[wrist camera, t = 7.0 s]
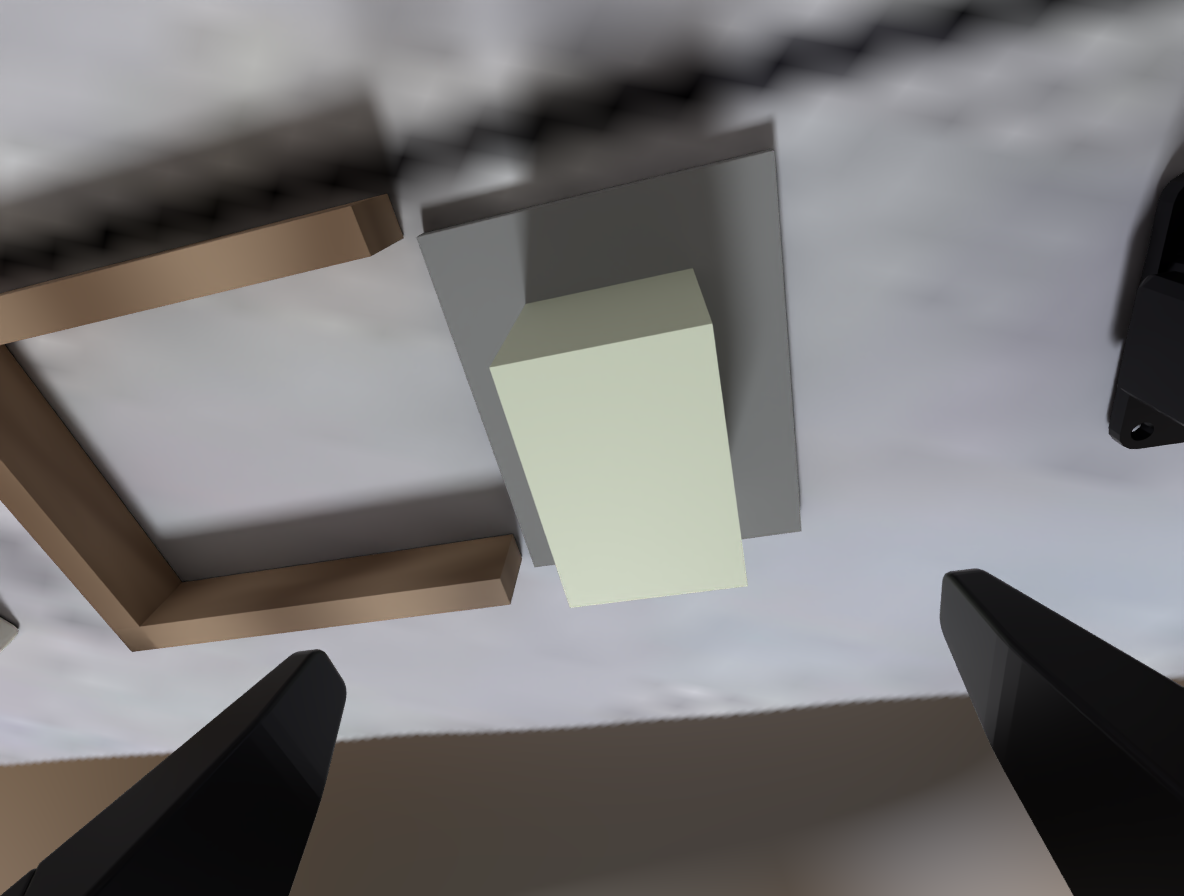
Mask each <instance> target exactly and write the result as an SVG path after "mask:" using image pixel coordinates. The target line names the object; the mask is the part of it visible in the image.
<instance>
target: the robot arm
mask: <svg viewBox="0 0 1184 896" xmlns="http://www.w3.org/2000/svg"><path fill="white" fill-rule="evenodd" d="M1117 384H1118V387H1117V392H1116V396H1115V401H1114V405H1113V410H1112V415H1111V419H1110V424H1109V435H1110V436H1111V437H1112V439H1114V440H1115V441H1117V442H1118V443H1119V444H1121V445H1122V446H1124V447H1126V448H1129V449H1141V448H1148V447H1155V446H1162V445H1169V444H1176V443H1183V442H1184V173H1182V174H1180V175H1179V176H1177V177H1176V178H1174V179H1173V180H1172V181H1170V183H1169V184H1168V185H1167V186H1166V188H1165V189H1164V190H1163V192H1162V194H1161V196H1160V199H1159V202H1158V206H1157V211H1156V215H1155V220H1154V224H1153V229H1152V233H1151V238H1150V242H1149V247H1148V251H1147V256H1146V260H1145V265H1144V270H1143V274H1142V279H1141V283H1140V286H1139V288H1138V290H1137V295H1136V299H1135V304H1134V308H1133V313H1132V317H1131V322H1130V326H1129V331H1128V336H1127V340H1126V345H1125V349H1124V354H1123V358H1122V363H1121V367H1120V372H1119V377H1118V381H1117ZM1139 424H1141V426H1140V427H1139V428H1138V429H1137V430H1135V431H1133V432H1132V430H1133V429H1134V428H1135V427H1136V426H1137V425H1139ZM940 624H941V629H942V632H943V635H944V637H945V640H946V642H947V645H948V647H949V649H950V652H951V654H952V656H953V659H954V661H955V663H956V666H957V668H958V670H959V673H960V675H961V677H962V680H963V682H964V684H965V687H966V689H967V692H968V694H969V696H970V699H971V701H972V703H973V706H974V708H975V710H976V713H977V715H978V717H979V720H980V722H981V724H982V727H983V729H984V731H985V734H986V736H987V738H988V740H989V742H990V745H991V747H992V749H993V751H994V752H995V755H996V757H997V759H998V760H999V762H1000V764H1001V766H1002V768H1003V770H1004V772H1005V773H1006V775H1007V777H1008V779H1009V781H1010V782H1011V784H1012V786H1013V788H1014V790H1015V791H1016V793H1017V795H1018V797H1019V799H1020V800H1021V802H1022V804H1023V806H1024V808H1025V809H1026V811H1027V813H1028V815H1029V816H1030V818H1031V820H1032V822H1033V824H1034V826H1035V827H1036V829H1037V831H1038V833H1039V834H1040V836H1041V838H1042V840H1043V841H1044V843H1045V845H1046V847H1047V849H1048V850H1049V852H1050V854H1051V856H1052V858H1053V860H1054V861H1055V863H1056V865H1057V867H1058V869H1059V870H1060V872H1061V874H1062V876H1063V878H1064V879H1065V881H1066V883H1067V885H1068V887H1069V888H1070V890H1071V892H1072V894H1073V896H1184V687H1182V686H1181V685H1179V684H1177V683H1176V682H1174V681H1172V680H1170V679H1169V678H1167V677H1165V676H1164V675H1162V674H1160V673H1158V672H1157V671H1155V670H1153V669H1152V668H1150V667H1148V666H1147V665H1145V664H1143V663H1141V662H1140V661H1138V660H1136V659H1135V658H1133V657H1131V656H1129V655H1128V654H1126V653H1124V652H1123V651H1121V650H1119V649H1117V648H1116V647H1114V646H1112V645H1111V644H1109V643H1107V642H1106V641H1104V640H1102V639H1100V638H1099V637H1097V636H1095V635H1094V634H1092V633H1090V632H1088V631H1087V630H1085V629H1083V628H1082V627H1080V626H1078V625H1076V624H1075V623H1073V622H1071V621H1070V620H1068V619H1066V618H1065V617H1063V616H1061V615H1059V614H1058V613H1056V612H1054V611H1053V610H1051V609H1049V608H1047V607H1046V606H1044V605H1042V604H1041V603H1039V602H1037V601H1035V600H1034V599H1032V598H1030V597H1029V596H1027V595H1025V594H1024V593H1022V592H1020V591H1018V590H1017V589H1015V588H1013V587H1012V586H1010V585H1008V584H1006V583H1005V582H1003V581H1001V580H1000V579H998V578H996V577H994V576H993V575H991V574H989V573H988V572H986V571H984V570H981V569H966V570H958V571H950V572H948V573H946V574H945V575H944V577H943V581H942V592H941V605H940ZM345 702H346V686H345V683H344V681H343V679H342V678H341V676H340V674H339V673H338V671H337V670H336V668H335V667H334V665H333V663H332V662H331V660H330V659H329V657H328V656H327V654H326V653H325V652H323V651H322V650H318V649H315V650H307V651H299V652H296V653H294V654H292V655H290V656H289V657H288V658H287V659H285V660H284V661H283V662H282V663H281V664H279V665H278V666H277V667H276V668H275V669H273V670H272V671H271V672H270V673H269V674H267V675H266V676H265V677H264V678H263V679H261V680H260V681H259V682H258V683H257V684H255V685H254V686H253V687H252V688H250V689H249V690H248V691H247V692H246V693H244V694H243V695H242V696H241V697H240V698H238V699H237V700H236V701H235V702H234V703H232V704H231V705H230V706H229V707H228V708H226V709H225V710H224V711H223V712H222V713H220V714H219V715H218V716H217V717H215V718H214V719H213V720H212V721H211V722H209V723H208V724H207V725H206V726H205V727H203V728H202V729H201V730H200V731H199V732H197V733H196V734H195V735H194V736H193V737H191V738H190V739H189V740H188V741H187V742H185V743H184V744H183V745H182V746H180V747H179V748H178V749H177V750H176V751H174V752H173V753H172V754H171V755H170V756H168V757H167V758H166V759H165V760H164V761H162V762H161V763H160V764H159V765H158V766H156V767H155V768H154V769H153V770H152V771H150V772H149V773H148V774H147V775H145V776H144V777H143V778H142V779H141V780H139V781H138V782H137V783H136V784H135V785H133V786H132V787H131V788H130V789H129V790H127V791H126V792H125V793H124V794H123V795H121V796H120V797H119V798H118V799H117V800H115V801H114V802H113V803H112V804H111V805H110V806H108V807H107V808H106V809H104V810H103V811H102V812H101V813H100V814H98V815H97V816H96V817H95V818H94V819H93V820H91V821H90V822H89V823H88V824H86V825H85V826H84V827H83V828H82V829H80V830H79V831H78V832H77V833H75V834H74V835H73V836H72V837H71V838H69V839H68V840H67V841H66V842H65V843H63V844H62V845H61V846H60V847H59V848H58V849H56V850H55V851H54V852H53V853H51V854H50V855H49V856H48V857H46V858H45V859H44V860H43V861H42V862H41V863H40V864H39V865H38V867H37V869H33V870H31V871H29V872H28V873H27V874H26V875H25V876H23V877H22V878H21V879H20V880H19V881H17V882H16V883H15V884H14V885H13V886H11V887H10V888H9V889H8V890H7V891H5V892H4V893H3V894H2V895H1V896H289V893H290V891H291V887H292V885H293V881H294V879H295V876H296V873H297V870H298V867H299V864H300V861H301V858H302V855H303V853H304V849H305V847H306V844H307V841H308V838H309V835H310V832H311V829H312V826H313V823H314V820H315V817H316V814H317V811H318V808H319V805H320V802H321V798H322V794H323V791H324V787H325V784H326V780H327V775H328V771H329V767H330V763H331V759H332V755H333V751H334V747H335V743H336V739H337V734H338V730H339V726H340V722H341V718H342V714H343V710H344V706H345Z"/></svg>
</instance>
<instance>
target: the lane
mask: <svg viewBox="0 0 1184 896" xmlns="http://www.w3.org/2000/svg"><path fill="white" fill-rule="evenodd" d="M403 238H404V237H403V235H402V232H401V229H400V227H399V224H398V221H397V218H396V216H395V213H394V210H393V208H392V205H391V202H390V199H389V197H388V194H383V195H380V196H376V197H372V198H368V199H364V200H360V201H356V202H352V203H349V204H345V205H341V206H337V207H333V208H329V209H325V210H321V211H318V212H314V213H310V214H306V215H302V216H298V217H294V218H290V219H287V220H283V221H279V222H275V223H271V224H267V225H263V226H259V227H256V228H252V229H248V230H244V231H240V232H236V233H232V234H228V235H225V236H221V237H217V238H213V239H209V240H205V241H201V242H197V243H194V244H190V245H186V246H182V247H178V248H174V249H170V250H166V251H163V252H159V253H155V254H151V255H147V256H143V257H139V258H135V259H132V260H128V261H124V262H120V263H116V264H112V265H108V266H104V267H101V268H97V269H93V270H89V271H85V272H81V273H77V274H73V275H70V276H66V277H62V278H58V279H54V280H50V281H46V282H42V283H39V284H35V285H31V286H27V287H23V288H19V289H15V290H11V291H8V292H4V293H0V500H1V501H2V503H3V504H4V505H5V506H6V507H7V508H8V510H9V511H10V512H11V513H12V514H13V515H14V516H15V518H16V519H17V520H18V521H19V522H20V523H21V525H22V526H23V527H24V528H25V529H26V530H27V531H28V533H29V534H30V535H31V536H32V537H33V538H34V540H35V541H36V542H37V543H38V544H39V545H40V546H41V548H42V549H43V550H44V551H45V552H46V553H47V555H48V556H49V557H50V558H51V559H52V560H53V561H54V563H55V564H56V565H57V566H58V567H59V568H60V570H61V571H62V572H63V573H64V574H65V575H66V576H67V578H68V579H69V580H70V581H71V582H72V583H73V585H74V586H75V587H76V588H77V589H78V590H79V591H80V593H81V594H82V595H83V596H84V597H85V598H86V600H87V601H88V602H89V603H90V604H91V605H92V606H93V608H94V609H95V610H96V611H97V612H98V613H99V615H100V616H101V617H102V618H103V619H104V620H105V621H106V623H107V624H108V625H109V626H110V627H111V628H112V630H113V631H114V632H115V633H116V634H117V635H118V636H119V638H120V639H121V640H122V641H123V642H124V643H125V645H126V646H127V647H128V648H129V649H130V650H131V651H132V652H134V651H142V650H150V649H158V648H166V647H174V646H182V645H190V644H198V643H206V642H214V641H222V640H230V639H238V638H246V637H254V636H262V635H270V634H278V633H286V632H294V631H302V630H310V629H318V628H326V627H334V626H342V625H350V624H358V623H366V622H374V621H382V620H390V619H398V618H406V617H414V616H422V615H430V614H438V613H446V612H454V611H462V610H470V609H478V608H486V607H494V606H502V605H510V604H511V600H512V596H513V592H514V588H515V584H516V580H517V576H518V573H519V569H520V565H521V561H522V557H521V555H520V552H519V549H518V546H517V544H516V541H515V538H514V536H513V534H510V535H504V536H497V537H490V538H483V539H476V540H469V541H463V542H456V543H449V544H442V545H435V546H428V547H421V548H415V549H408V550H401V551H394V552H387V553H380V554H374V555H367V556H360V557H353V558H346V559H339V560H332V561H326V562H319V563H312V564H305V565H298V566H291V567H285V568H278V569H271V570H264V571H257V572H250V573H243V574H237V575H230V576H223V577H216V578H209V579H202V580H196V581H189V582H181V580H180V579H179V578H178V576H177V575H176V574H175V572H174V571H173V570H172V568H171V567H170V566H169V564H168V563H167V562H166V560H165V559H164V558H163V556H162V555H161V554H160V552H159V551H158V550H157V548H156V547H155V546H154V544H153V543H152V542H151V540H150V539H149V538H148V536H147V535H146V534H145V532H144V531H143V530H142V528H141V527H140V526H139V524H138V523H137V522H136V520H135V519H134V518H133V516H132V515H131V514H130V512H129V511H128V510H127V508H126V507H125V506H124V504H123V503H122V501H121V500H120V499H119V497H118V496H117V495H116V493H115V492H114V491H113V489H112V488H111V487H110V485H109V484H108V483H107V481H106V480H105V479H104V477H103V476H102V475H101V473H100V472H99V471H98V469H97V468H96V467H95V465H94V464H93V463H92V461H91V460H90V459H89V457H88V456H87V455H86V453H85V452H84V451H83V449H82V448H81V447H80V445H79V444H78V443H77V441H76V440H75V439H74V437H73V436H72V435H71V433H70V432H69V431H68V429H67V428H66V427H65V425H64V424H63V423H62V421H61V420H60V418H59V417H58V416H57V414H56V413H55V412H54V410H53V409H52V408H51V406H50V405H49V404H48V402H47V401H46V400H45V398H44V397H43V396H42V394H41V393H40V392H39V390H38V389H37V388H36V386H35V385H34V384H33V382H32V381H31V380H30V378H29V377H28V376H27V374H26V373H25V372H24V370H23V369H22V368H21V366H20V365H19V364H18V362H17V361H16V360H15V358H14V357H13V356H12V354H11V353H10V352H9V350H8V349H7V348H6V346H5V345H4V344H7V343H11V342H15V341H19V340H23V339H28V338H32V337H36V336H40V335H44V334H48V333H53V332H57V331H61V330H65V329H69V328H73V327H78V326H82V325H86V324H90V323H94V322H98V321H103V320H107V319H111V318H115V317H119V316H123V315H128V314H132V313H136V312H140V311H144V310H148V309H153V308H157V307H161V306H165V305H169V304H174V303H178V302H182V301H186V300H190V299H194V298H199V297H203V296H207V295H211V294H215V293H219V292H224V291H228V290H232V289H236V288H240V287H244V286H249V285H253V284H257V283H261V282H265V281H269V280H274V279H278V278H282V277H286V276H290V275H294V274H299V273H303V272H307V271H311V270H315V269H320V268H324V267H328V266H332V265H336V264H340V263H345V262H349V261H353V260H357V259H361V258H365V257H370V256H372V255H374V254H376V253H378V252H379V251H381V250H383V249H385V248H387V247H388V246H390V245H392V244H394V243H396V242H397V241H399V240H401V239H403Z"/></svg>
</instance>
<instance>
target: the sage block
mask: <svg viewBox="0 0 1184 896" xmlns="http://www.w3.org/2000/svg"><path fill="white" fill-rule="evenodd" d="M489 368H490V371H491V374H492V377H493V380H494V383H495V386H496V389H497V392H498V395H499V398H500V401H501V404H502V407H503V410H504V413H505V416H506V419H507V422H508V425H509V428H510V431H511V434H512V437H513V440H514V443H515V446H516V449H517V451H518V454H519V457H520V460H521V463H522V466H523V469H524V472H525V475H526V478H527V481H528V484H529V487H530V490H531V493H532V496H533V499H534V502H535V505H536V508H537V511H538V514H539V517H540V520H541V523H542V526H543V529H544V532H545V535H546V538H547V541H548V544H549V547H550V550H551V553H552V556H553V559H554V562H555V565H556V568H557V570H558V573H559V576H560V579H561V582H562V585H563V588H564V591H565V594H566V597H567V600H568V603H569V606H570V608H573V607H581V606H589V605H598V604H606V603H614V602H622V601H630V600H639V599H647V598H655V597H663V596H671V595H679V594H688V593H696V592H704V591H712V590H720V589H729V588H737V587H745V586H748V584H747V577H746V569H745V562H744V554H743V547H742V539H741V532H740V525H739V517H738V510H737V502H736V495H735V488H734V480H733V473H732V465H731V458H730V450H729V443H728V436H727V428H726V421H725V413H724V406H723V398H722V391H721V384H720V376H719V369H718V361H717V354H716V347H715V339H714V332H713V324H712V321H711V318H710V315H709V312H708V310H707V307H706V304H705V301H704V298H703V296H702V293H701V290H700V287H699V284H698V281H697V279H696V276H695V273H694V270H693V268H691V269H686V270H682V271H677V272H672V273H668V274H663V275H658V276H654V277H649V278H644V279H640V280H635V281H631V282H626V283H621V284H617V285H612V286H607V287H603V288H598V289H593V290H589V291H584V292H579V293H575V294H570V295H565V296H561V297H556V298H551V299H547V300H542V301H537V302H533V303H528V304H525V306H524V308H523V309H522V311H521V313H520V315H519V316H518V318H517V320H516V322H515V323H514V325H513V327H512V329H511V330H510V332H509V334H508V336H507V337H506V339H505V341H504V343H503V344H502V346H501V348H500V350H499V352H498V353H497V355H496V357H495V359H494V360H493V362H492V364H491V366H490V367H489Z"/></svg>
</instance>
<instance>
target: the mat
mask: <svg viewBox="0 0 1184 896" xmlns="http://www.w3.org/2000/svg"><path fill="white" fill-rule="evenodd" d="M416 238H417V241H418V243H419V246H420V249H421V252H422V254H423V257H424V260H425V263H426V266H427V268H428V271H429V274H430V277H431V280H432V282H433V285H434V288H435V291H436V294H437V296H438V299H439V302H440V305H441V307H442V310H443V313H444V316H445V319H446V321H447V324H448V327H449V330H450V333H451V335H452V338H453V341H454V344H455V347H456V349H457V352H458V355H459V358H460V360H461V363H462V366H463V369H464V372H465V374H466V377H467V380H468V383H469V386H470V388H471V391H472V394H473V397H474V399H475V402H476V405H477V408H478V411H479V413H480V416H481V419H482V422H483V425H484V427H485V430H486V433H487V436H488V439H489V441H490V444H491V447H492V450H493V452H494V455H495V458H496V461H497V464H498V466H499V469H500V472H501V475H502V478H503V480H504V483H505V486H506V489H507V491H508V494H509V497H510V500H511V503H512V505H513V508H514V511H515V514H516V517H517V519H518V522H519V525H520V528H521V531H522V533H523V536H524V539H525V542H526V544H527V547H528V550H529V553H530V556H531V558H532V561H533V564H534V567H540V566H548V565H555V562H554V559H553V556H552V553H551V550H550V547H549V544H548V541H547V538H546V535H545V532H544V529H543V526H542V523H541V520H540V517H539V514H538V511H537V508H536V505H535V502H534V499H533V496H532V493H531V490H530V487H529V484H528V481H527V478H526V475H525V472H524V469H523V466H522V463H521V460H520V457H519V454H518V451H517V449H516V446H515V443H514V440H513V437H512V434H511V431H510V428H509V425H508V422H507V419H506V416H505V413H504V410H503V407H502V404H501V401H500V398H499V395H498V392H497V389H496V386H495V383H494V380H493V377H492V374H491V371H490V368H489V367H490V366H491V364H492V362H493V360H494V359H495V357H496V355H497V353H498V352H499V350H500V348H501V346H502V344H503V343H504V341H505V339H506V337H507V336H508V334H509V332H510V330H511V329H512V327H513V325H514V323H515V322H516V320H517V318H518V316H519V315H520V313H521V311H522V309H523V308H524V306H525V304H528V303H533V302H537V301H542V300H547V299H551V298H556V297H561V296H565V295H570V294H575V293H579V292H584V291H589V290H593V289H598V288H603V287H607V286H612V285H617V284H621V283H626V282H631V281H635V280H640V279H644V278H649V277H654V276H658V275H663V274H668V273H672V272H677V271H682V270H686V269H691V268H693V270H694V273H695V276H696V279H697V281H698V284H699V287H700V290H701V293H702V296H703V298H704V301H705V304H706V307H707V310H708V312H709V315H710V318H711V321H712V324H713V332H714V339H715V347H716V354H717V361H718V369H719V376H720V384H721V391H722V398H723V406H724V413H725V421H726V428H727V436H728V443H729V450H730V458H731V465H732V473H733V480H734V488H735V495H736V502H737V510H738V517H739V525H740V532H741V539H747V538H755V537H762V536H770V535H777V534H784V533H792V532H799V531H801V517H800V503H799V489H798V475H797V461H796V447H795V433H794V419H793V405H792V391H791V377H790V363H789V349H788V335H787V321H786V307H785V293H784V279H783V265H782V251H781V237H780V223H779V209H778V195H777V181H776V167H775V153H774V150H771V149H768V150H764V151H760V152H756V153H751V154H747V155H743V156H739V157H735V158H731V159H727V160H723V161H718V162H714V163H710V164H706V165H702V166H698V167H694V168H690V169H686V170H681V171H677V172H673V173H669V174H665V175H661V176H657V177H653V178H649V179H644V180H640V181H636V182H632V183H628V184H624V185H620V186H616V187H611V188H607V189H603V190H599V191H595V192H591V193H587V194H583V195H579V196H574V197H570V198H566V199H562V200H558V201H554V202H550V203H546V204H541V205H537V206H533V207H529V208H525V209H521V210H517V211H513V212H509V213H504V214H500V215H496V216H492V217H488V218H484V219H480V220H476V221H471V222H467V223H463V224H459V225H455V226H451V227H447V228H443V229H439V230H434V231H430V232H426V233H423V234H421V235H419V236H418V237H416Z"/></svg>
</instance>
